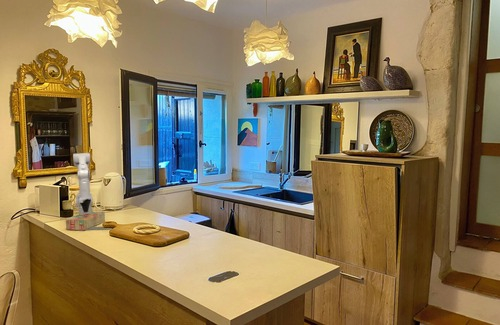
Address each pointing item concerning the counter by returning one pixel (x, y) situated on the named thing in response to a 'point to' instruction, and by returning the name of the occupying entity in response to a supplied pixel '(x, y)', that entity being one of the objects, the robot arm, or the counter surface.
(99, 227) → the strip
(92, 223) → the patterned cardboard box
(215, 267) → the counter surface
